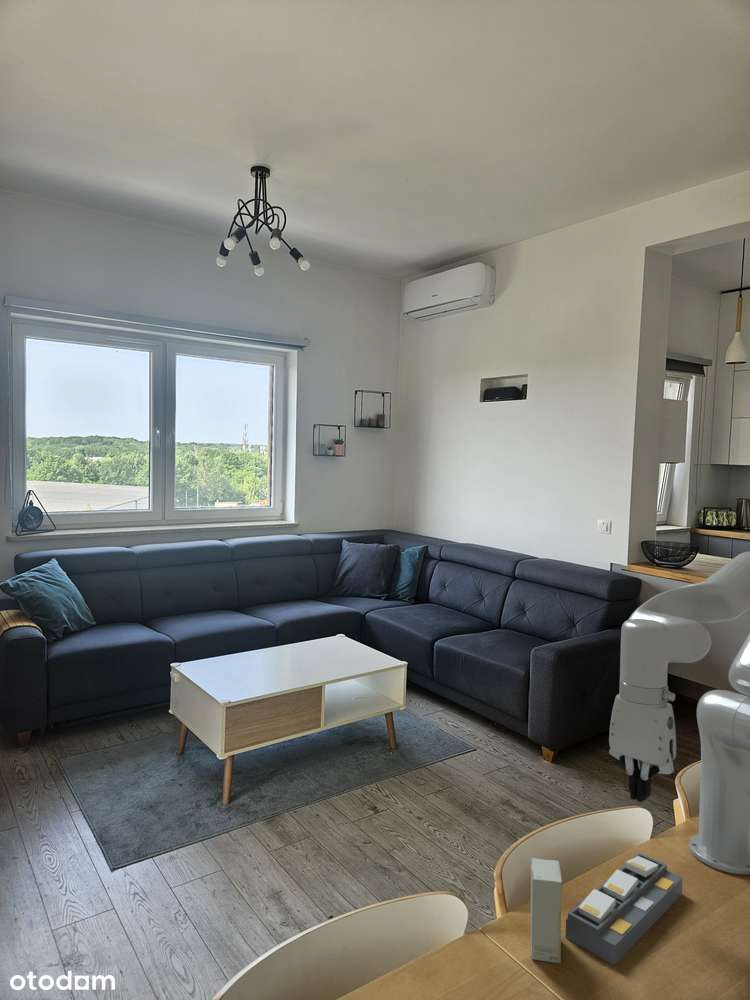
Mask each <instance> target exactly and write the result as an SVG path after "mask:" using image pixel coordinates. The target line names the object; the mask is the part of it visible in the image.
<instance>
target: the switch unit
mask: <svg viewBox="0 0 750 1000" xmlns="http://www.w3.org/2000/svg"><path fill="white" fill-rule="evenodd" d="M637 856H639V857H642V858H644V859H646V860H649V861H651V862H653V863H655V864H658V870H657V871H656V872H654V873H652V874H651V875H649V876H647V877H644V876H642V875H640V874H638V873H636V872H633V871H631V870H629V869H627V868H625V865H626V863H625V864H624V865H623V866H622V867H620V868H619V869H618V870H620V871H622V872H624V873H626V874H629V875H631V876H633V877H635V878H637V879H638V885H637V886H636V887H635V889H634V890H633V891H632V893H631V894H630V895H629V897H628V898H627V899H626V900H625V901H622V900H620V899H618V898H616V897H614V896H612V895H609V894H607V893H605V892H603V886H604V884H605V883H606V882H607V881H608V880H609V878H608V879H606V880H605V881H604V882H603V883H601V884H600V885H599V886H598V887H597V888H596V890H598V891H600V892H602V893H604V894H606V895H608V896H610V897H612V898H614V899H615V903H616V905H615V906H614V908H613V909H612V910H611V911H610V913H609V914H608V915H607V917H606V918H605V919H604V920H603V922H602V923H601V924H599V923H597V922H595V921H593V920H591V919H590V918H588V917H586V916H584V915H582V914H580V913H579V906H580V905H581V904H582V902H583V901H584V900H585V899H586V898H587V896H586V897H585V898H584V899H583V900H582V901H580V902H579V903H578V904H577V905H576V906H574V908H572V909H571V910H570V911H568V913H567V917H566V918H565V938H566V939H568V940H570V941H571V942H573V943H575V944H576V945H578V946H580V948H583V949H585V950H586V949H587V950H586V951H588V950H589V951H588V952H590V953H592V954H593V953H594V955H595V956H597V957H599V958H600V957H601V958H600V959H602V960H603V961H605V960H606V962H607V963H609V964H610V965H613V966H616V965H617V964H618V962H620V960H621V959H622V958H623V957H624V956H625V955H626V954H627V953H628V952H629V951H630V950H631V949H632V948H633V946H634V945H636V943H637V942H638V941H639V940H640V939H641V938H642V937H643V936H644V935H645V934H646V933H647V932H648V931H649V930H650V929H651V928H652V927H653V925H654V924H655V923H656V922H658V920H659V919H660V918H661V917H662V916H663V915H664V914H665V913H666V912H667V911H668V909H669V908H670V907H672V905H674V903H675V902H676V901H677V900H678V899H679V898H681V896H682V895H683V876H681V875H678V874H677V873H674V872H671V871H669V870H668V869H667V868H668V864H666V863H664V862H661V861H659V860H657V859H654V858H653V857H650V856H648V855H645V854H643V853H640V852H639V853H637V854H636V855H635V856H633V857H632V858H631V859H633V858H635V857H637Z"/></svg>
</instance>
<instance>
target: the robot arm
mask: <svg viewBox="0 0 750 1000" xmlns="http://www.w3.org/2000/svg"><path fill="white" fill-rule="evenodd" d="M749 608H750V550H749V551H744V552H741V553H739V554H737V555H735V556H734V557H733V558H732V559H731V560H729V561H728V562H727V563H725V564H724V565H723V566H721V567H720V568H719V569H718V570H717V571H715V572H714V573H712V574H711V575H710V576H709V577H707V578H706V579H705V580H702V581H699V582H695V583H690V584H686V585H684V586H680V587H677V588H674V589H669V590H666V591H664V592H661V593H658V594H656V595H654V596H652V597H651V598H649V599H648V600H647V601H645V602H644V603H643V604H641V605H640V606H639V607H637V608H636V609H635V610H634V611H633V612H632V613H631V615H630V616H629V618H628V619H627V620H625V621H624V622H623V623H622V625H621V632H620V633H621V634H620V657H619V659H620V661H619V662H620V663H619V664H620V665H619V666H620V667H619V690H618V691H619V693H618V694H616V696H615V698H614V703H613V705H612V710H611V717H610V725H609V734H608V735H609V737H608V742H609V743H608V744H609V747H610V748H609V751H608V753H609V755H611V756H612V757H614V758H615V759H616V760H619V761H620V763H621V764H622V765H623V767H624V769H625V770H626V774H627V775H628V791H629V792H630V799H631V800H633V801H635V800H636V801H637V802H638V803H643V802H644V801H645V800H647V799H648V798H650V796H651V793H652V791H651V790H652V777H653V776H655V775H657V774H661V775H671V774H672V773H674V771H675V767H674V763H673V760H676V756H677V737H676V736H677V735H676V723H675V714H674V709H673V705H672V704H671V702H674V701H675V700H676V694H675V693H674V692H672V691H670V690H669V685H668V665H669V663H682V664H683V663H684V664H690V663H691V664H692V663H695V662H698V661H700V660H702V659H703V658H705V656H707V654H708V653H709V651H710V649H711V646H712V638H711V637H712V636H711V634H710V632H709V630H708V629H707V627H706V626H704V625H703V624H713V623H723V622H729V621H733V620H736V619H738V618H739V617H740V616H741V615H743V614H744V613H745V612H746V611H747V610H748V609H749ZM728 681H729V684H730V685H731V687H732V688H733V689H734V690H735V691H737V692H739V693H736V692H733V691H729V690H725V689H723V690H722V689H714V690H709V691H707V692H705V693H704V694H703V695H702V696H701V697H700V698H699V700H698V702H697V707H696V720H697V727H698V732H699V738H700V740H699V741H700V759H701V760H700V781H699V783H700V784H699V808H698V810H699V814H698V817H699V818H698V833H697V834H694V835H692V836H691V837H690V839H689V842H688V843H689V847H688V848H689V850H690V852H691V853H692V854H693V856H694V857H695V858H697V860H699V861H701V862H702V863H703V864H705V865H707V866H709V867H711V868H714V869H715V870H718V871H721V872H726V873H728V874H729V873H730V874H735V875H750V632H749V633H748V636H746V638H745V640H744V642H743V643H742V646H741V647H740V648H739V651H738V652H737V653H736V656H735V658H734V659H733V661H732V662H731V665H730V666H729V671H728ZM669 702H670V703H669ZM640 762H642V765H641V767H640Z"/></svg>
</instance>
